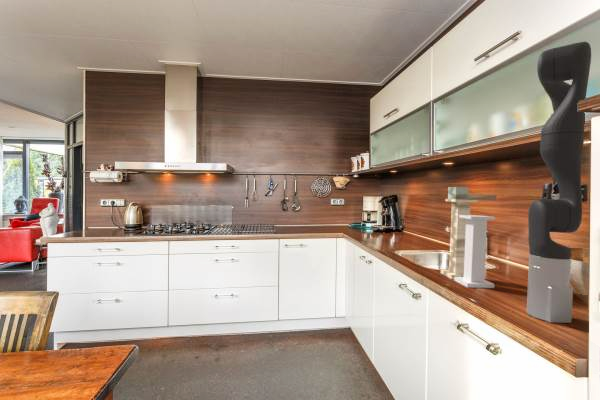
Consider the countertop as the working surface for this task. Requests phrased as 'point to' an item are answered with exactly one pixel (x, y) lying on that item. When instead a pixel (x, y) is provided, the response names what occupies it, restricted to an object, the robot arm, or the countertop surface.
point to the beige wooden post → (457, 237)
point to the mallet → (463, 194)
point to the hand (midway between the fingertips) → (563, 213)
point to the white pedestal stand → (475, 252)
